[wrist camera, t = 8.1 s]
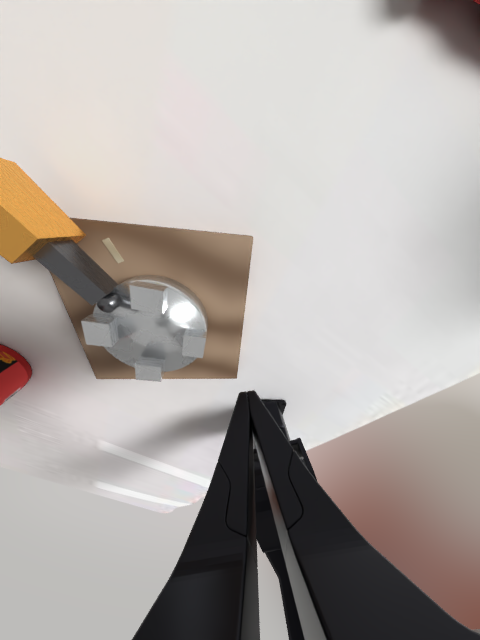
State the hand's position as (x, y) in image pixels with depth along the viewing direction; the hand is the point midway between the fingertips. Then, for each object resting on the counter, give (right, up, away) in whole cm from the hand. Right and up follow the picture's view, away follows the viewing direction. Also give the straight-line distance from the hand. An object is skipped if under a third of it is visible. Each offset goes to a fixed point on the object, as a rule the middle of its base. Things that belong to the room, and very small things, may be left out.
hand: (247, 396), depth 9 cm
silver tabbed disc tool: (-11, +7, +7) cm, 15 cm away
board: (-9, +5, +11) cm, 15 cm away
